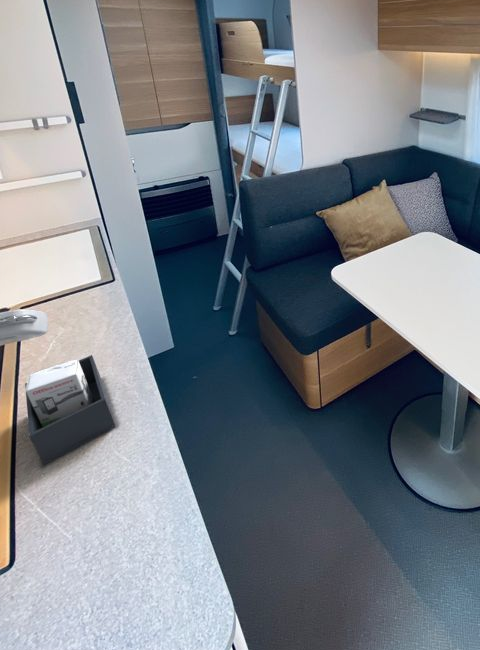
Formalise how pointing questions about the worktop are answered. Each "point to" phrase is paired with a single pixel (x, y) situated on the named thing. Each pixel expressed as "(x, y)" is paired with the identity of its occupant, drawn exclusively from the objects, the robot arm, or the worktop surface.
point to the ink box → (58, 391)
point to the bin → (73, 420)
